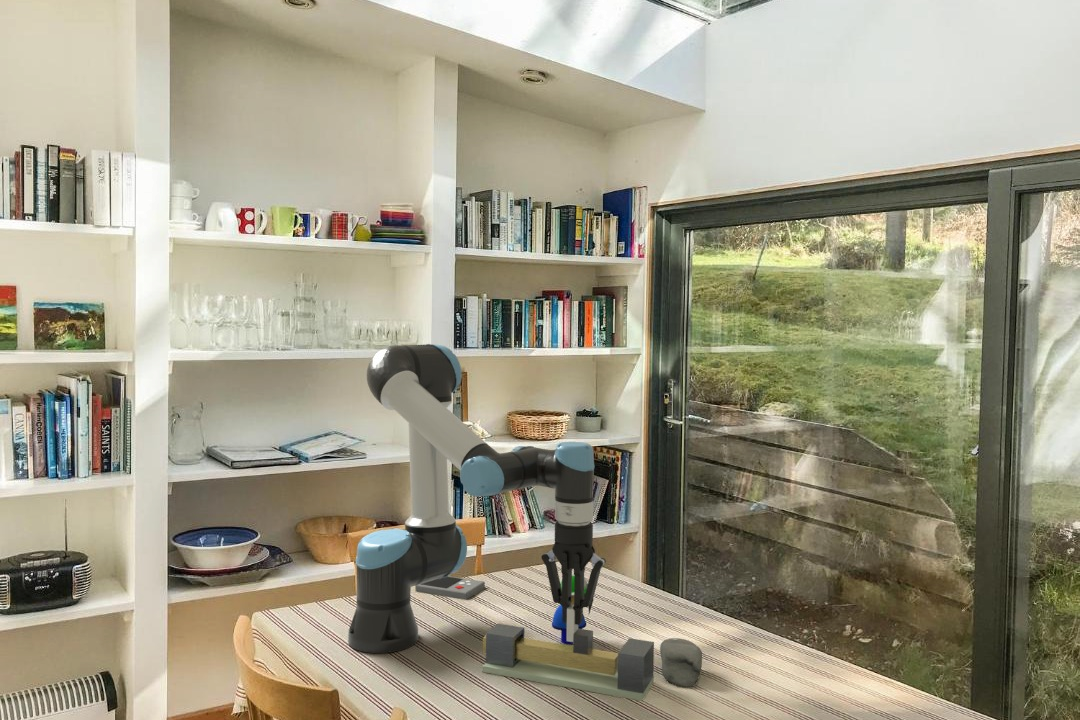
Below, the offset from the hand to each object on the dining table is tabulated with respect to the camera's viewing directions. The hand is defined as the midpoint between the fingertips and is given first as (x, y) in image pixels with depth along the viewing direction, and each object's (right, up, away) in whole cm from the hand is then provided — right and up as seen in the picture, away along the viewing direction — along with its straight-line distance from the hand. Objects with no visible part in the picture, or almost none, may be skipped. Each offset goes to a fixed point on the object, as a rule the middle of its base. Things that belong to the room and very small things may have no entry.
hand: (572, 639), depth 169 cm
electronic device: (-30, -5, +54) cm, 62 cm away
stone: (+22, -8, +2) cm, 23 cm away
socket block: (+12, -7, -4) cm, 15 cm away
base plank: (-1, -8, +1) cm, 8 cm away
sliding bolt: (-4, -5, +2) cm, 7 cm away
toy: (+1, -7, +21) cm, 22 cm away
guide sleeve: (-14, -6, +6) cm, 16 cm away
